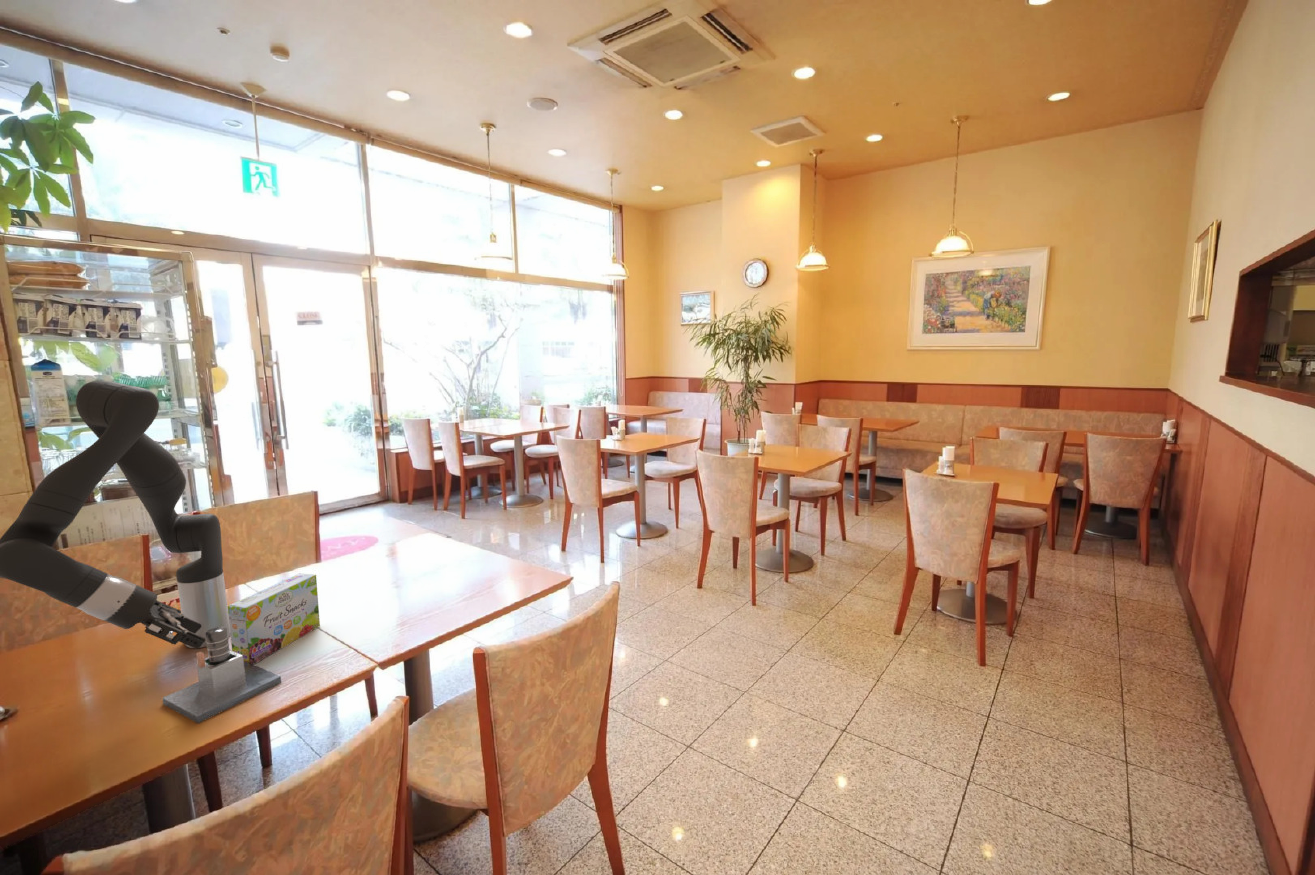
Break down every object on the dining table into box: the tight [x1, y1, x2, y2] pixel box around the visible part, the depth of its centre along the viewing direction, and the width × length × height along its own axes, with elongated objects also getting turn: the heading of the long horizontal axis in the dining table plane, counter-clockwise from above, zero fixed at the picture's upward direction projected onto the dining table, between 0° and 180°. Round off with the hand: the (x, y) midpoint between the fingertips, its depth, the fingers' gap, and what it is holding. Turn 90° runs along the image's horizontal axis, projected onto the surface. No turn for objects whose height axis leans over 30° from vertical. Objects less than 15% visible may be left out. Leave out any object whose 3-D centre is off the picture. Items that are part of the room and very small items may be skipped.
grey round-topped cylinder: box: [206, 627, 231, 666], centre depth 122 cm, size 4×4×12 cm
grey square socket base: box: [161, 649, 282, 724], centre depth 122 cm, size 14×16×11 cm
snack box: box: [227, 573, 321, 665], centre depth 143 cm, size 21×6×15 cm, turn 168°
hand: (200, 636), depth 119 cm, fingers open, 8 cm apart
